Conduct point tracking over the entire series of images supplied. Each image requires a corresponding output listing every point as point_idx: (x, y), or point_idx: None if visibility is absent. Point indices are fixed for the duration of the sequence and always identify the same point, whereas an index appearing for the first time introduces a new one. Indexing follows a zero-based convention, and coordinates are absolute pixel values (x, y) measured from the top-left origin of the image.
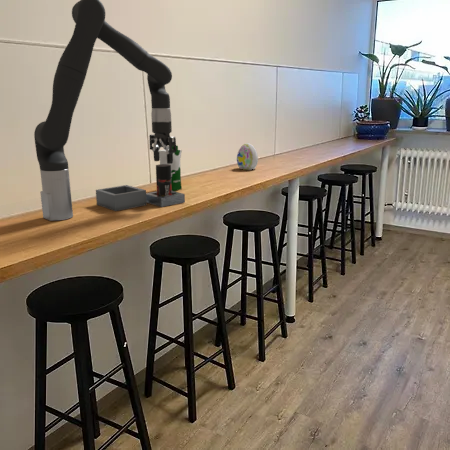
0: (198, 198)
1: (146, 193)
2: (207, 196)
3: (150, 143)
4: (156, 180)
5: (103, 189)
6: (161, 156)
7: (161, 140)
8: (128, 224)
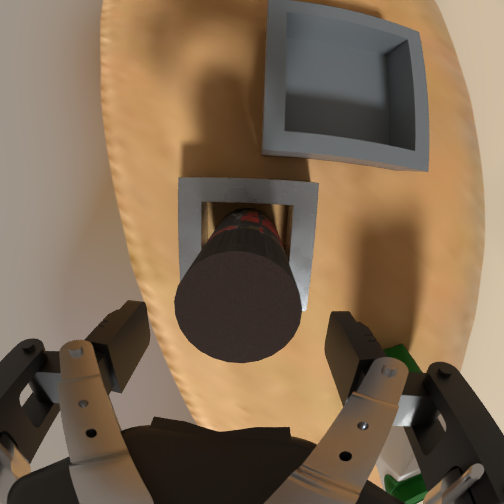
0: (207, 356)
1: (312, 193)
2: (211, 387)
3: (471, 412)
4: (264, 230)
5: (409, 48)
6: (445, 431)
7: (73, 480)
8: (112, 9)
